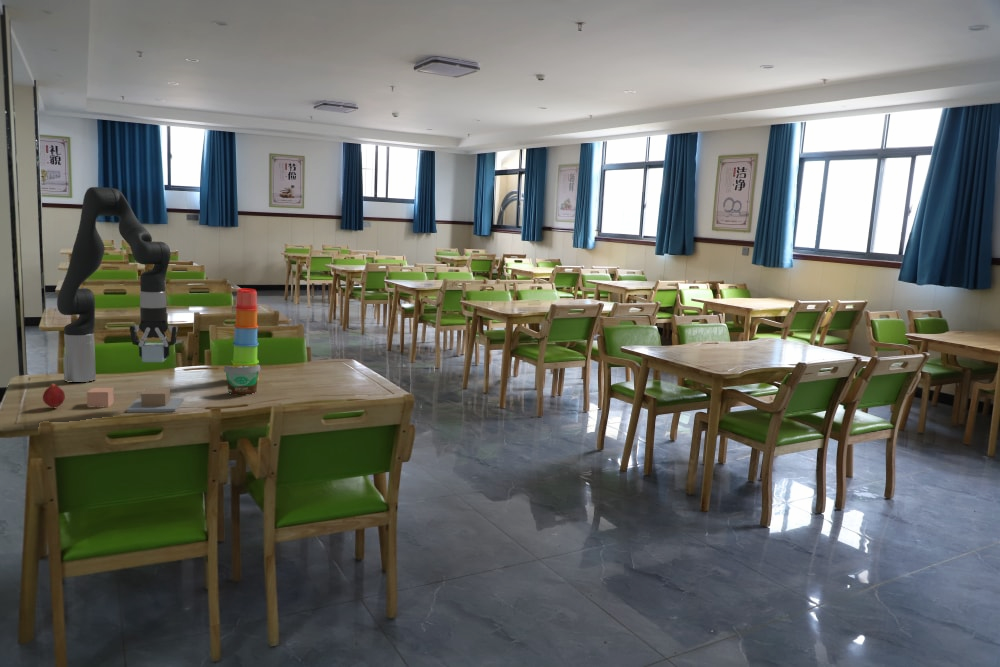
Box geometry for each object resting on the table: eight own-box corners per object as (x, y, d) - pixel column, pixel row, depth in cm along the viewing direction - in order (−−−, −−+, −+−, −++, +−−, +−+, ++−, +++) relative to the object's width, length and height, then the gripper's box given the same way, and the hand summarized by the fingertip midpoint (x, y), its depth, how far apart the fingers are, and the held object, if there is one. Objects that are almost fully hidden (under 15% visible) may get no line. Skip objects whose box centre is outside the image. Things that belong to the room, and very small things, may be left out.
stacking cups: (258, 376, 284) (258, 287, 278) (259, 382, 274) (258, 290, 269) (230, 377, 280) (229, 287, 275) (229, 383, 271) (228, 290, 266)
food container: (226, 397, 251) (225, 368, 249) (223, 393, 256) (223, 365, 255) (263, 394, 257) (263, 366, 255) (260, 390, 262) (260, 363, 261)
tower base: (126, 412, 227) (126, 396, 226) (137, 401, 241) (137, 386, 240) (175, 411, 230) (174, 396, 230) (183, 400, 244) (183, 386, 243)
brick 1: (87, 407, 231) (86, 392, 230) (93, 403, 237) (92, 387, 236) (108, 407, 232) (107, 392, 232) (113, 402, 238) (113, 387, 237)
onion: (49, 405, 230) (48, 381, 229) (68, 406, 231) (67, 381, 230) (39, 410, 225) (38, 385, 224) (59, 411, 225) (58, 385, 224)
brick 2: (142, 362, 230) (141, 346, 229) (146, 358, 235) (146, 343, 235) (162, 362, 231) (162, 346, 230) (167, 358, 237) (166, 343, 236)
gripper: (125, 306, 225) (126, 360, 228) (175, 307, 229) (176, 360, 231) (131, 303, 232) (133, 355, 235) (180, 304, 236) (181, 355, 238)
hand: (154, 357), depth 233 cm, fingers closed on brick 2, 6 cm apart
